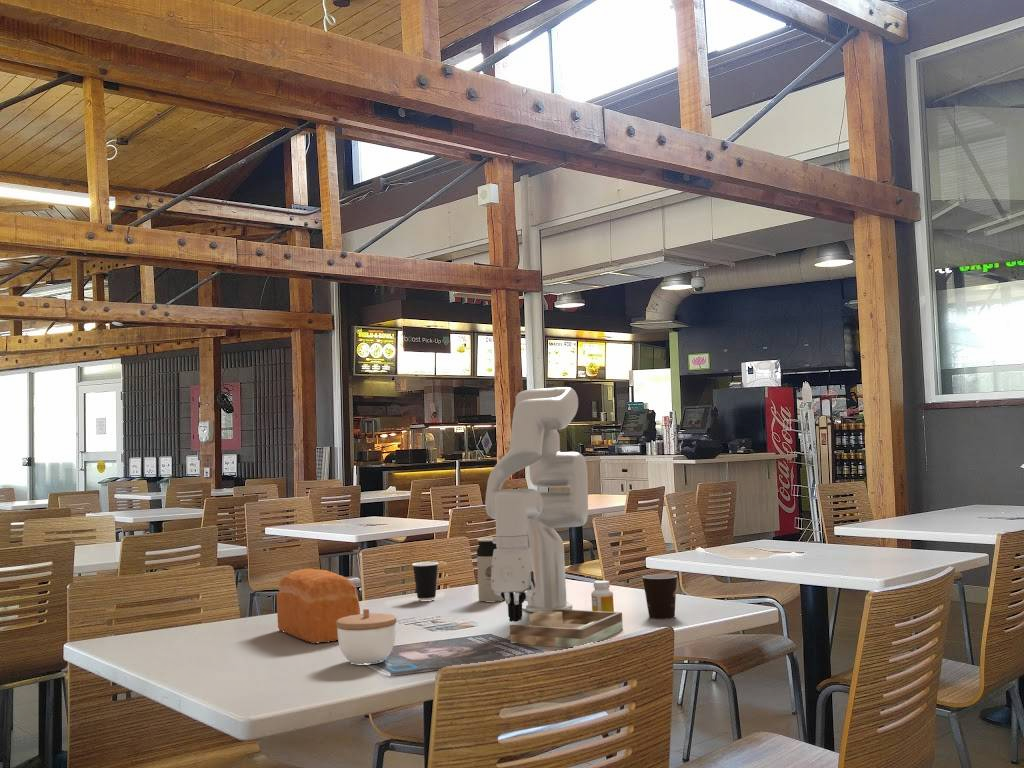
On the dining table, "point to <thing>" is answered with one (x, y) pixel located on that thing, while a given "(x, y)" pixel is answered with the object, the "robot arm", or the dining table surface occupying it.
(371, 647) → the lidded bowl
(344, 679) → the dining table surface
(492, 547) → the travel mug
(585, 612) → the box
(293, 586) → the bread
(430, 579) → the dixie cup
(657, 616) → the coffee mug
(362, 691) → the dining table surface
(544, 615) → the maple block
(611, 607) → the supplement bottle
